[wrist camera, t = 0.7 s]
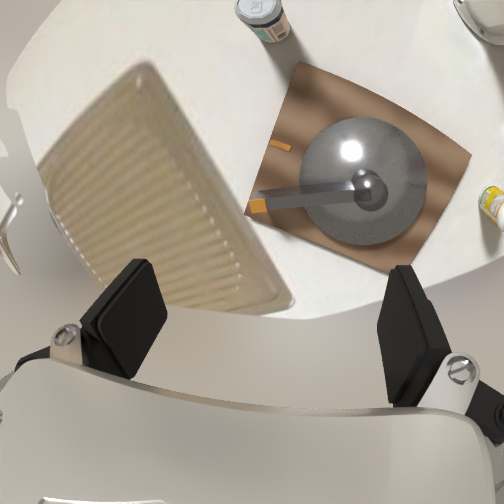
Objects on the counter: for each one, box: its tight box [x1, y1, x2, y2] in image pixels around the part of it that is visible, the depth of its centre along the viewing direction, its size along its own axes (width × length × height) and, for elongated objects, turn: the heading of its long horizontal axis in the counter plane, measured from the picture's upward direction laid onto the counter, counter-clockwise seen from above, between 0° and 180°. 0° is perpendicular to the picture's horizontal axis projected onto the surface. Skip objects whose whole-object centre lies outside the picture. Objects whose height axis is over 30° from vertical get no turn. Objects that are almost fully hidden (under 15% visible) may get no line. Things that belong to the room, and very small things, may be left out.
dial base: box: [244, 61, 472, 274], centre depth 36 cm, size 24×28×2 cm
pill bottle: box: [234, 0, 290, 43], centre depth 23 cm, size 5×5×12 cm
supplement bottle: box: [479, 185, 504, 232], centre depth 29 cm, size 5×5×10 cm
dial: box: [249, 117, 427, 245], centre depth 34 cm, size 24×18×6 cm
